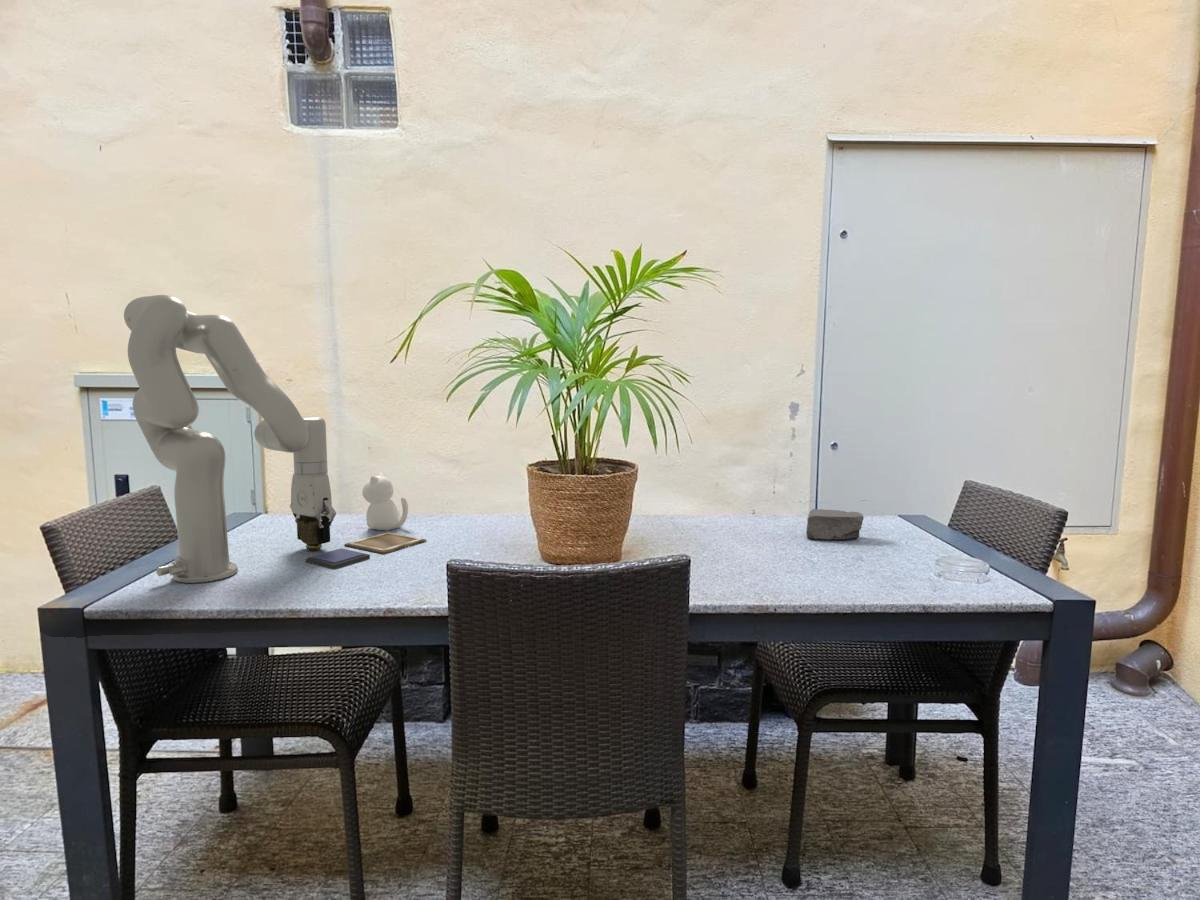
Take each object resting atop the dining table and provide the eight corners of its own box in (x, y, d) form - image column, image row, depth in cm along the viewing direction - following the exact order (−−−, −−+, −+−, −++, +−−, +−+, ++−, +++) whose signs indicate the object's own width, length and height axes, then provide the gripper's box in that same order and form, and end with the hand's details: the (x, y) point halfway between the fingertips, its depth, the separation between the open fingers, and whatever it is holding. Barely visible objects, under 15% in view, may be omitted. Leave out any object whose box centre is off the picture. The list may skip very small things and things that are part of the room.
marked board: (383, 554, 184) (383, 551, 184) (344, 545, 192) (344, 543, 192) (426, 541, 196) (426, 538, 196) (388, 534, 204) (388, 531, 203)
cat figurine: (371, 524, 215) (369, 470, 213) (415, 525, 213) (413, 471, 211) (357, 532, 206) (355, 476, 204) (403, 533, 204) (400, 477, 202)
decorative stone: (796, 535, 203) (811, 543, 193) (797, 509, 202) (812, 516, 192) (849, 533, 205) (867, 541, 195) (850, 507, 204) (868, 514, 194)
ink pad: (334, 568, 173) (334, 563, 173) (306, 562, 178) (305, 557, 178) (369, 558, 181) (369, 553, 181) (341, 552, 186) (341, 547, 186)
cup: (335, 546, 191) (334, 514, 190) (322, 554, 184) (320, 521, 183) (306, 545, 192) (305, 513, 191) (292, 552, 185) (290, 520, 184)
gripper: (274, 467, 187) (278, 538, 190) (320, 473, 178) (323, 549, 180) (301, 463, 193) (304, 532, 196) (347, 469, 184) (350, 542, 186)
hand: (313, 540), depth 188 cm, fingers closed on cup, 7 cm apart
